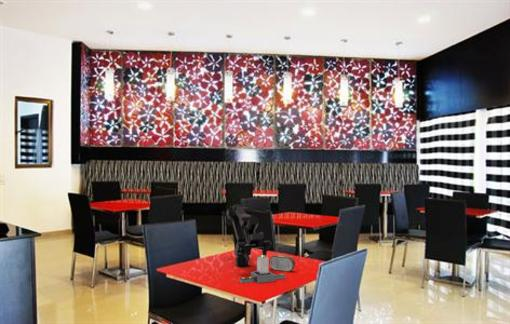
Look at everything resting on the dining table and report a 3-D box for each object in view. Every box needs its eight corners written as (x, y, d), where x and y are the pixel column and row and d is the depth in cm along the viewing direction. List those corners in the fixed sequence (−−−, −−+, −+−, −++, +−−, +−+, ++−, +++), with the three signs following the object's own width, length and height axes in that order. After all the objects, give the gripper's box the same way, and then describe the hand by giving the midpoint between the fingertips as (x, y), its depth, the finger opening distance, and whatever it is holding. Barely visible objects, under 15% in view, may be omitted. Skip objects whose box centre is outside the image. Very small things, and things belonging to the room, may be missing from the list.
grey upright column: (257, 279, 229) (257, 254, 229) (265, 278, 231) (265, 254, 231) (260, 281, 225) (260, 256, 225) (268, 280, 227) (268, 255, 226)
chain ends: (237, 279, 228) (237, 272, 228) (280, 275, 236) (280, 269, 236) (243, 284, 219) (243, 277, 219) (287, 280, 228) (287, 273, 228)
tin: (295, 271, 245) (295, 256, 245) (293, 272, 242) (293, 257, 242) (270, 268, 252) (270, 253, 252) (268, 270, 249) (268, 255, 249)
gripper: (237, 227, 237) (244, 252, 226) (270, 226, 243) (278, 250, 233) (233, 239, 244) (239, 264, 234) (265, 237, 251) (272, 261, 240)
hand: (257, 260), depth 235 cm, fingers open, 9 cm apart
